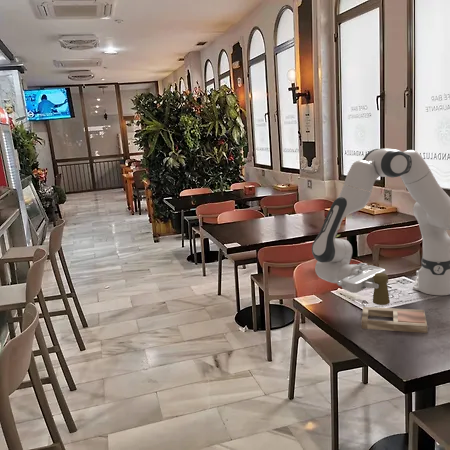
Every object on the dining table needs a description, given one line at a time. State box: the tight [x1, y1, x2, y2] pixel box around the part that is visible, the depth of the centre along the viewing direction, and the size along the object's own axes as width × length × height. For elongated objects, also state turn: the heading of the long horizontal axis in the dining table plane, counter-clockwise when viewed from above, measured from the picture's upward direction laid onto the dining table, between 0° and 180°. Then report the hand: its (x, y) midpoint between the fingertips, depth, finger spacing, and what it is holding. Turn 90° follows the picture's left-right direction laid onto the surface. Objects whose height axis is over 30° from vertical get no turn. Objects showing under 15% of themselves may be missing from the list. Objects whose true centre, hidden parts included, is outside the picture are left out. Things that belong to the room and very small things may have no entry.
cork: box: [372, 273, 391, 306], centre depth 167 cm, size 6×6×11 cm
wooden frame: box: [361, 306, 428, 334], centre depth 168 cm, size 14×22×3 cm, turn 71°
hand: (382, 283), depth 166 cm, fingers closed on cork, 4 cm apart
